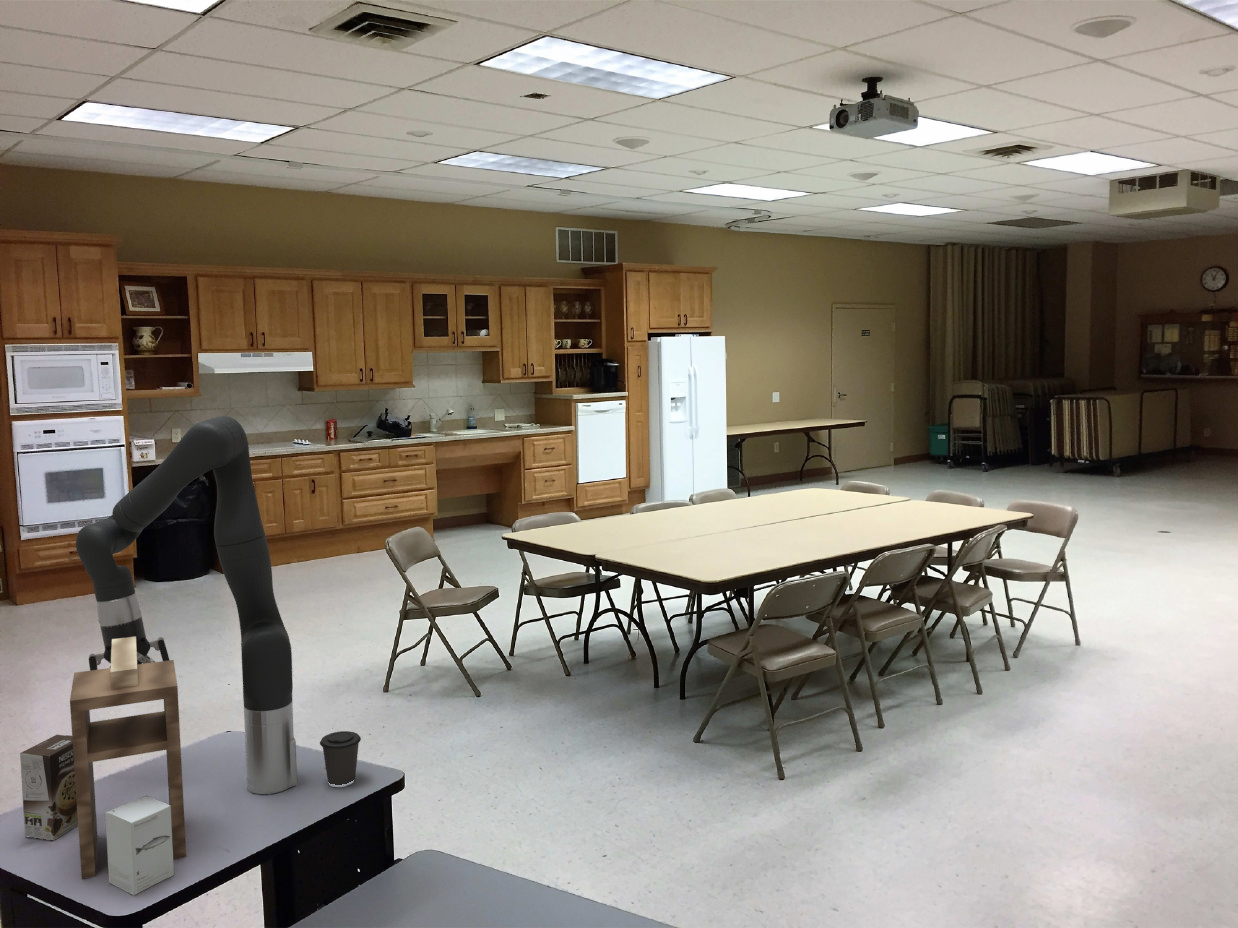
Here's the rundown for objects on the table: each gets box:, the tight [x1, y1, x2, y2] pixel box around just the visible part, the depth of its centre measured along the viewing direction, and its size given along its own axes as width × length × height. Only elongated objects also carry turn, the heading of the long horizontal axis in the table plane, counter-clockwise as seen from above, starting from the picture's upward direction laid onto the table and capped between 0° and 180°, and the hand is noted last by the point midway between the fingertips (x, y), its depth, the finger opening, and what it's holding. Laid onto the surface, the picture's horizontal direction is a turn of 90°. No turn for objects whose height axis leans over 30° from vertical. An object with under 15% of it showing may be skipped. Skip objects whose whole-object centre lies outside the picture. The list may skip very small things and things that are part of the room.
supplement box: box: [104, 795, 175, 896], centre depth 160 cm, size 7×7×13 cm
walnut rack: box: [69, 659, 187, 880], centre depth 169 cm, size 16×15×31 cm
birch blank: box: [110, 637, 138, 689], centre depth 172 cm, size 4×20×3 cm, turn 27°
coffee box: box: [19, 734, 78, 841], centre depth 177 cm, size 9×6×16 cm
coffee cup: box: [319, 730, 362, 785], centre depth 197 cm, size 8×8×10 cm
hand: (136, 695), depth 195 cm, fingers open, 8 cm apart
